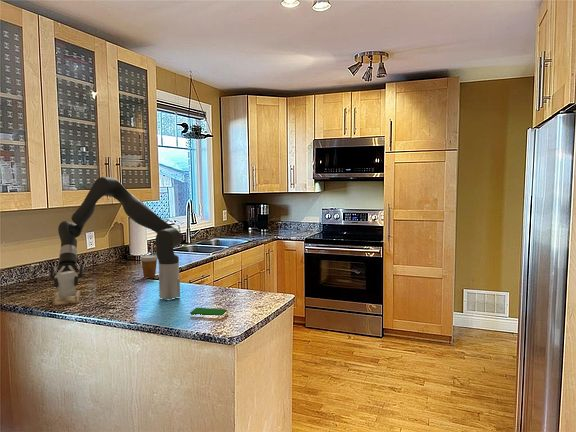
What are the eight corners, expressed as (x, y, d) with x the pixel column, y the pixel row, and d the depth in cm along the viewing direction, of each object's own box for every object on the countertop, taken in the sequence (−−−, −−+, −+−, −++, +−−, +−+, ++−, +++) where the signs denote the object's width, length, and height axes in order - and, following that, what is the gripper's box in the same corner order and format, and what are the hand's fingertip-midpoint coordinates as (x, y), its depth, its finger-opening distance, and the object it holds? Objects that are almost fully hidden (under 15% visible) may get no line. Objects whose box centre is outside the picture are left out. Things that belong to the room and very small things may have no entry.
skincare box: (70, 295, 195) (69, 270, 194) (76, 296, 193) (74, 271, 192) (58, 298, 190) (56, 273, 189) (63, 299, 188) (62, 274, 186)
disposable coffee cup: (160, 275, 241) (160, 254, 240) (153, 279, 231) (153, 258, 230) (145, 274, 242) (144, 254, 241) (137, 278, 232) (137, 257, 231)
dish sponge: (196, 312, 176) (196, 307, 176) (227, 314, 174) (227, 309, 174) (189, 318, 169) (189, 312, 169) (221, 320, 167) (221, 314, 167)
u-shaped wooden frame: (80, 296, 198) (79, 290, 197) (77, 302, 188) (77, 296, 187) (56, 298, 194) (56, 292, 194) (52, 305, 184) (52, 298, 184)
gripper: (50, 252, 194) (46, 283, 184) (83, 250, 199) (82, 280, 189) (52, 261, 199) (49, 291, 189) (85, 259, 204) (84, 288, 195)
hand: (66, 285), depth 189 cm, fingers closed on skincare box, 7 cm apart
